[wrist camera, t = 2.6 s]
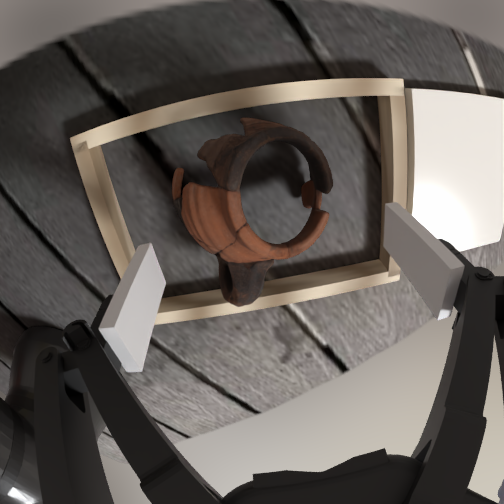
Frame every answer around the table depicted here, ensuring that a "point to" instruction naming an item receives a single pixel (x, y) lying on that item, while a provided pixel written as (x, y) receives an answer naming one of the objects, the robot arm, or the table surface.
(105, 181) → the frame
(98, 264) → the table surface
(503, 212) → the ceramic tile
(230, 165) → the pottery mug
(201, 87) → the table surface
